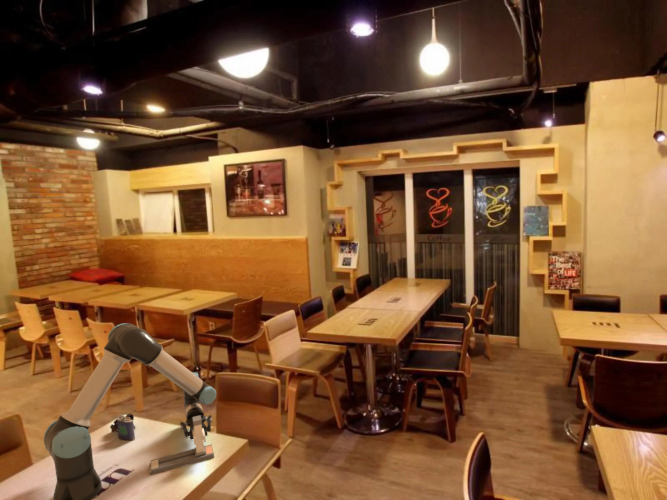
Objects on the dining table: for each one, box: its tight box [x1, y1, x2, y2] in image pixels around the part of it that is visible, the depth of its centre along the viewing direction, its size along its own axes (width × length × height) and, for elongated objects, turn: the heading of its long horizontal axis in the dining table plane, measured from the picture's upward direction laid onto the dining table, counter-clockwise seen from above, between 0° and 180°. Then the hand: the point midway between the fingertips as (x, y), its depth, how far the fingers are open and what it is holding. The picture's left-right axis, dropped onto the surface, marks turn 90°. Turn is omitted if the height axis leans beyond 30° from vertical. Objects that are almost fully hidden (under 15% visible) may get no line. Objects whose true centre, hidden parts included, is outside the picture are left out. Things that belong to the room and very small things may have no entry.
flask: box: [116, 415, 136, 442], centre depth 191 cm, size 9×3×11 cm, turn 67°
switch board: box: [150, 443, 215, 475], centre depth 171 cm, size 24×8×2 cm, turn 113°
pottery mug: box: [109, 413, 136, 433], centre depth 199 cm, size 12×10×8 cm
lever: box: [193, 415, 206, 456], centre depth 173 cm, size 4×6×14 cm
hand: (199, 440), depth 168 cm, fingers closed on lever, 3 cm apart
